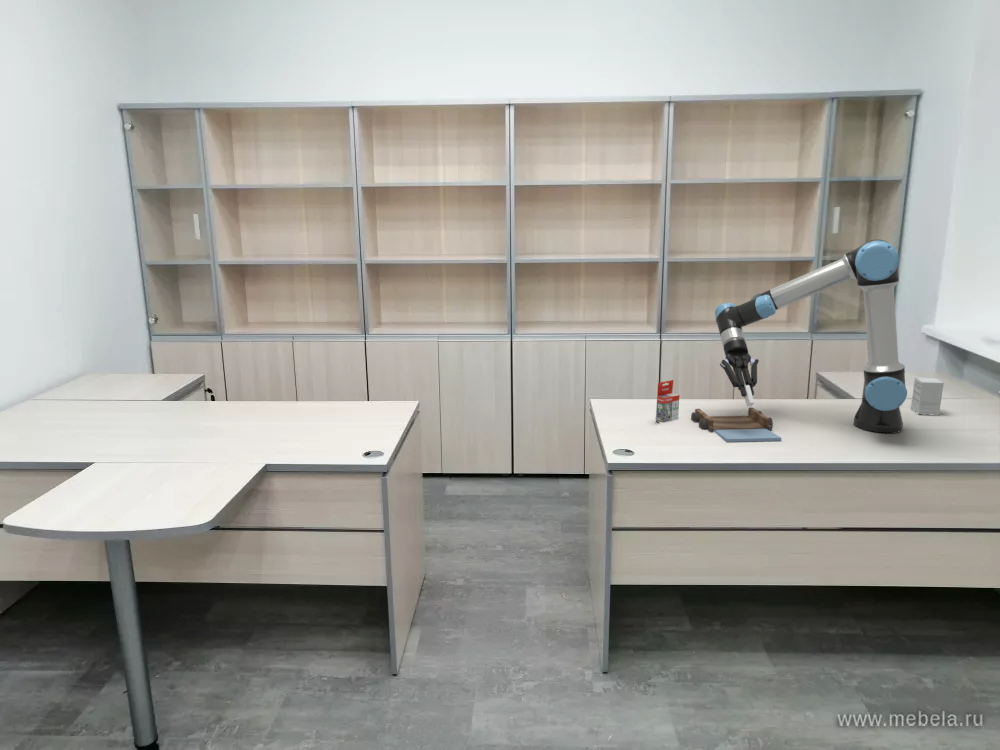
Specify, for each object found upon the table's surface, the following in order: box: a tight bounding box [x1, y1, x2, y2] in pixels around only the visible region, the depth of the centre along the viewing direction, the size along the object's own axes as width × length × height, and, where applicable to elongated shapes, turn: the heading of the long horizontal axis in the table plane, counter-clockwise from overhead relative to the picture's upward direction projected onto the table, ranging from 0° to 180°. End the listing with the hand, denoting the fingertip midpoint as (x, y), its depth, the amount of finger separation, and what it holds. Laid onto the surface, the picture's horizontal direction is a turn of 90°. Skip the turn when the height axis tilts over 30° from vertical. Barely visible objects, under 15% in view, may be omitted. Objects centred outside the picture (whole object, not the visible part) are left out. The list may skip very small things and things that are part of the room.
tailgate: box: [713, 428, 782, 443], centre depth 235 cm, size 1×18×12 cm
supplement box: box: [910, 377, 945, 416], centre depth 262 cm, size 7×7×13 cm
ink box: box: [655, 379, 680, 424], centre depth 251 cm, size 4×8×15 cm, turn 123°
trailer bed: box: [690, 407, 774, 433], centre depth 247 cm, size 16×24×4 cm, turn 94°
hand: (750, 404), depth 231 cm, fingers closed
